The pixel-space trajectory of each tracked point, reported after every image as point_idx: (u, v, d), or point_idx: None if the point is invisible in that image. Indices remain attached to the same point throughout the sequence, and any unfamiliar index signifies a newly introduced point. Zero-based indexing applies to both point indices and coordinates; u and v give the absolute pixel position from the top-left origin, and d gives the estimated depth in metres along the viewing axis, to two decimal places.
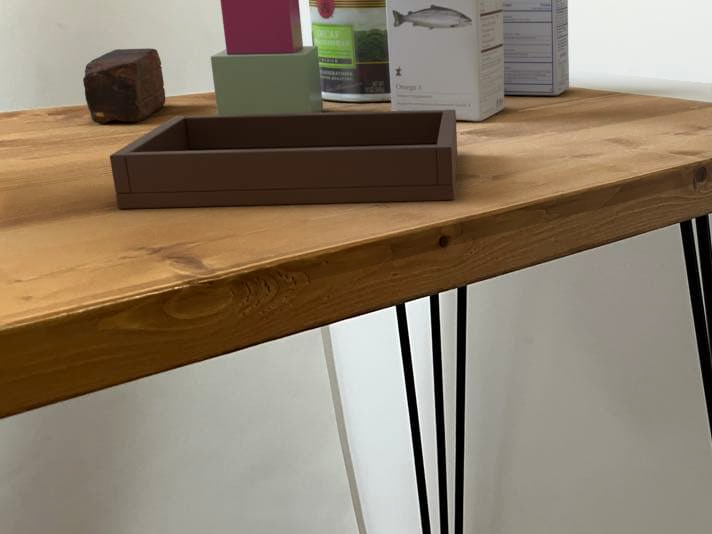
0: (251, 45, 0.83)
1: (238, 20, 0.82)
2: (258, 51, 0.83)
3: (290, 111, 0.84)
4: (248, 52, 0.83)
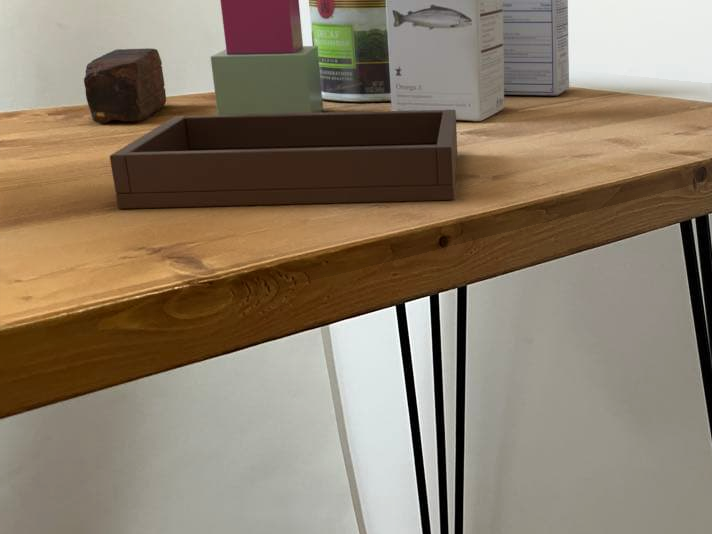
0: (251, 45, 0.83)
1: (238, 20, 0.82)
2: (258, 51, 0.83)
3: (290, 111, 0.84)
4: (248, 52, 0.83)
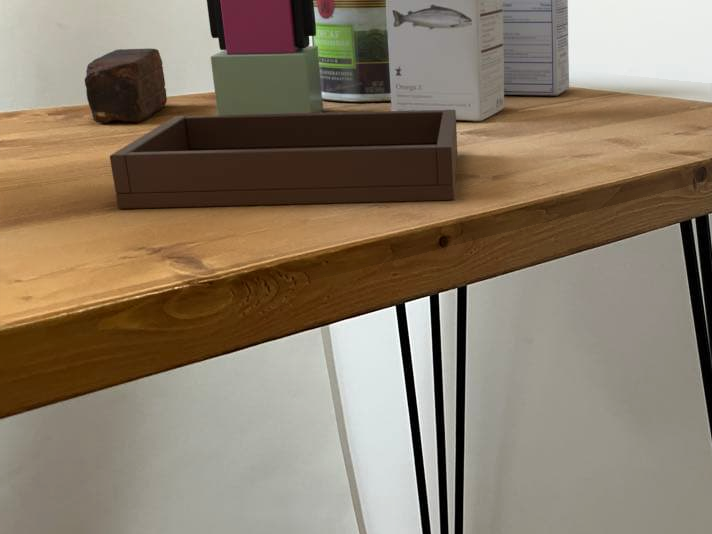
0: (251, 45, 0.83)
1: (238, 20, 0.82)
2: (258, 51, 0.83)
3: (290, 111, 0.84)
4: (248, 52, 0.83)
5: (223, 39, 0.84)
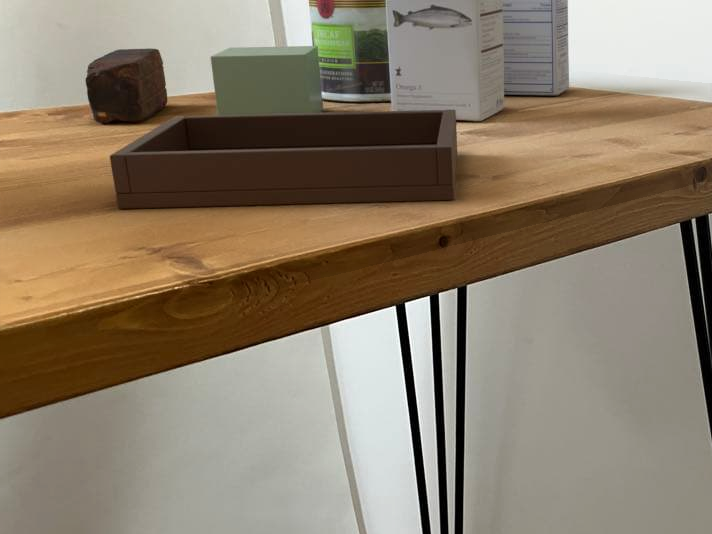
0: None
1: None
2: None
3: (290, 111, 0.84)
4: None
5: None
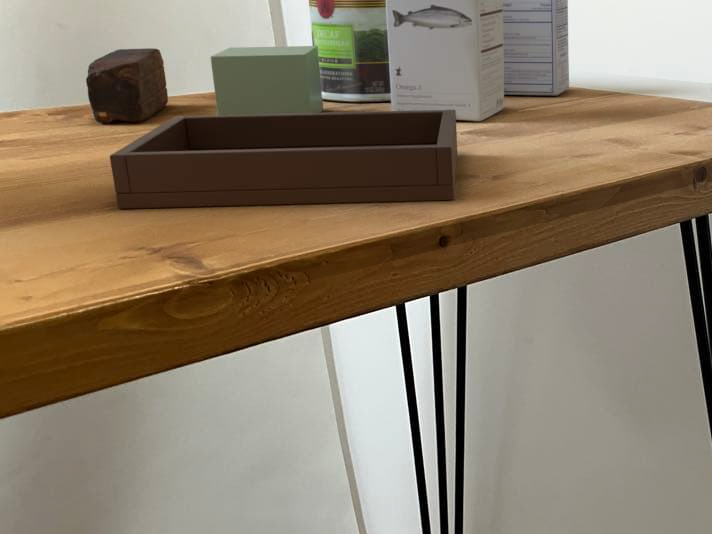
0: None
1: None
2: None
3: (290, 111, 0.84)
4: None
5: None
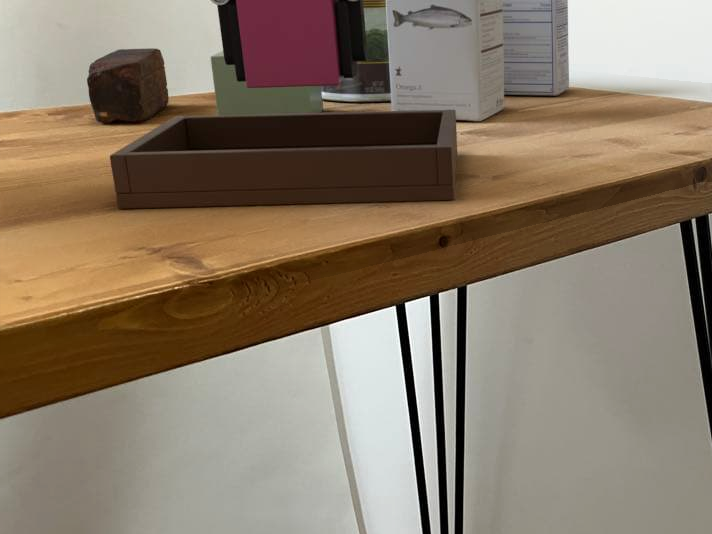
0: (281, 74, 0.60)
1: (263, 40, 0.59)
2: (290, 82, 0.60)
3: (290, 111, 0.84)
4: (276, 84, 0.60)
5: (241, 67, 0.61)
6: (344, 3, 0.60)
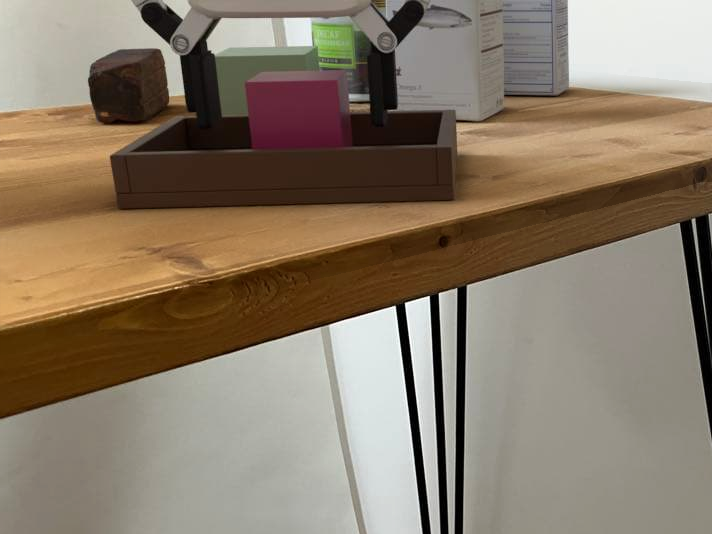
0: None
1: (271, 129, 0.61)
2: None
3: None
4: None
5: (203, 116, 0.62)
6: (377, 55, 0.61)
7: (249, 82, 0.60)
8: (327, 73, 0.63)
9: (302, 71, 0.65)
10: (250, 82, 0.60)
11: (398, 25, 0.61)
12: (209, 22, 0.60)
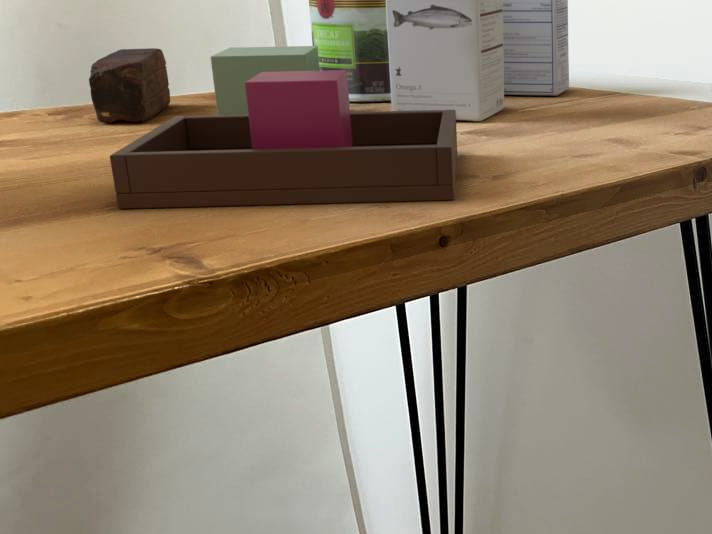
0: None
1: (271, 129, 0.61)
2: None
3: None
4: None
5: None
6: None
7: (249, 82, 0.60)
8: (327, 73, 0.63)
9: (302, 71, 0.65)
10: (250, 82, 0.60)
11: None
12: None
